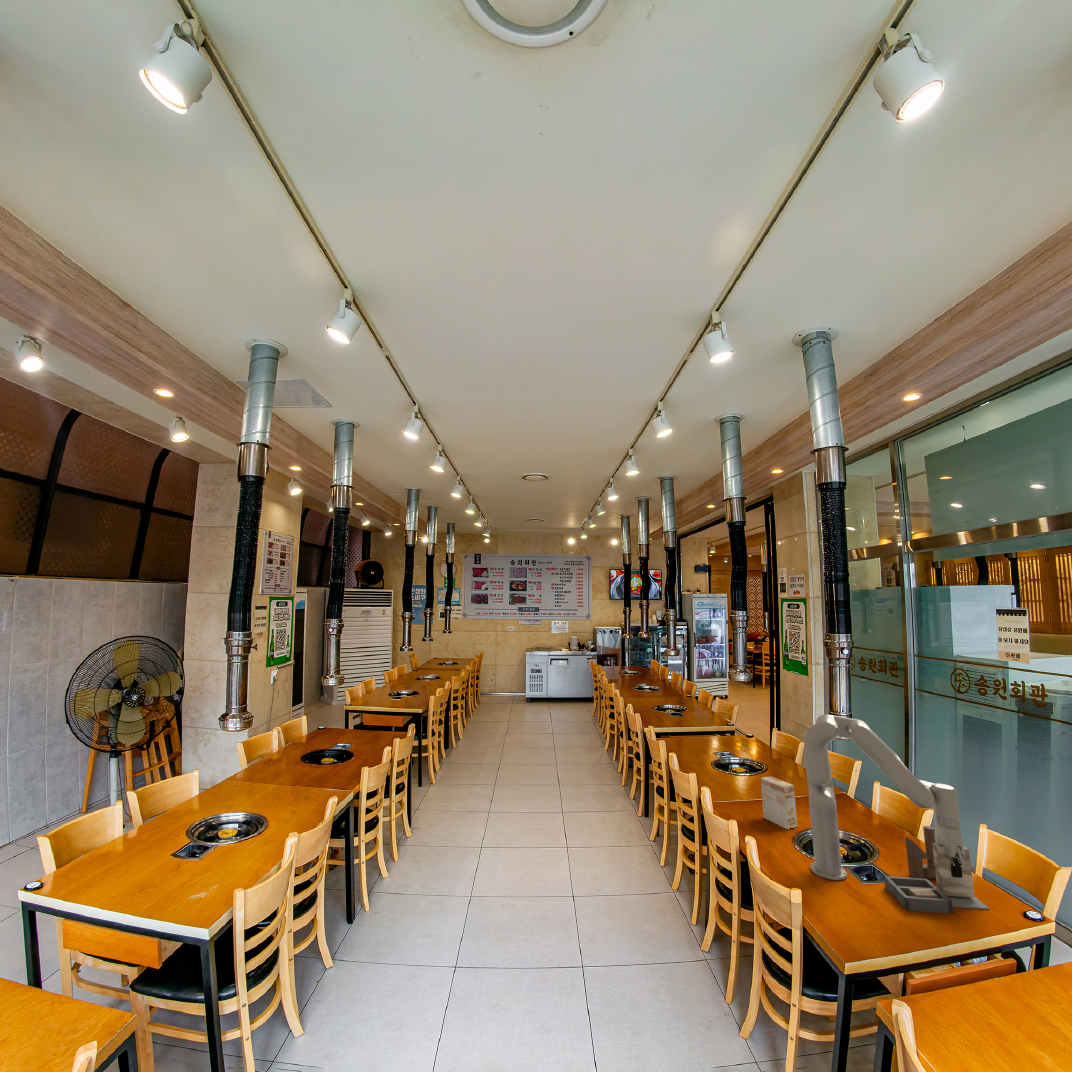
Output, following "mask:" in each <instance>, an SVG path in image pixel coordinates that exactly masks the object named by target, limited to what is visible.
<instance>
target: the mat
mask: <svg viewBox="0 0 1072 1072" xmlns="http://www.w3.org/2000/svg"><path fill="white" fill-rule="evenodd" d="M946 896H947V895H946ZM947 897H948V898H949V899H950V900H951V901H952V907H953V908H962V909H975V910H986V911H987V910H990V908H989V907H988V906H987V905H986V904H985V903H983V902H982V901H981V900H980V899H978V897H976V896H975V898H974V897H961V896H947Z"/></svg>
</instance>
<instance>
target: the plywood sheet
mask: <svg viewBox="0 0 1072 1072" xmlns="http://www.w3.org/2000/svg"><path fill="white" fill-rule="evenodd" d="M932 844H933V853H934V862H935V871H936V878H935V879H936V887H937V888H938V889H939V890H940V891H941V892H942V893H943V894H944V895H947V896H961V897H974V898H975V897H976V896H975V890H974V889H975V888H974V879H973V873H972V866H971V857H970V849H969V848H967V847H966V846H964V851H965V857H964V861H965V863H964V864H962V876H963V877H962V878H957V877H953V876H952V873H951V865H952V863H951V857H949V856H947V855H946V854H945V848H944V847H942V846H941V845H940V844H934V843H932ZM955 856H957V855H955ZM955 860H958V859H956V858H954V861H955Z"/></svg>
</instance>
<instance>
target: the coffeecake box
mask: <svg viewBox="0 0 1072 1072" xmlns="http://www.w3.org/2000/svg"><path fill="white" fill-rule="evenodd" d="M760 784H761V785H760V787H761V797H762V798H761V800H762V813H763V814H762V815H763V819H764V818H765V819H764V820H766V819H767V820H766V821H768V820H769V822H770V821H771V823H772V822H773V823H772V824H774V823H775V824H774V825H776V824H777V825H776V826H778V825H779V827H780V826H781V828H782V827H783V828H782V829H784V828H785V830H786V829H788V830H791V829H790V828H794V829H796V828H795V827H798V822H797V821H798V819H797V808H796V807H797V806H796V796H795V794H796V793H795V785H794V784H791V783H789V782H786V781H784V780H782V779H779V778H777V777H774V776H764V777H760Z"/></svg>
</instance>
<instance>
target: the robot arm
mask: <svg viewBox="0 0 1072 1072" xmlns="http://www.w3.org/2000/svg"><path fill="white" fill-rule="evenodd" d="M838 738H843V739H844V738H845V739H850V740H851V741H852V743H853V744H854V745H855V746H856V747H858V749H859V750H860V751H861V752H862V753H863V754H865V755H866V757H867V758H868V759H870V761H871V762H872V763H873V764H874V765H875V766H876V767H877V768H878V769H879V770H880V771H881V772H882V773H883V774H884V775H885V776H886V777H887V778H888V779H889V780H890V781H891V782H892V783H893V784H894V785H895V787H896V788H898V790H899V791H900V792H901V793H902V794H903V795H905V796H906V797H907V799H909V801H910V802H912V803H913V804H914V805H915V806H917V807H918V808H921V809H930V808H933V809H932V810H933V817H934V818H933V819H934V826H933V828H934V834H935V844H940V845H941V846H942V847H944V848H945V854H946V855H947V856H949V857H951V863H952V865H951V873H952V876H953V877H957V878H962V877H963V876H962V864H964V863H965V861H964V857H965V851H964V847H965V844H964V840H963V835H962V831H961V828H962V826H961V824H962V823H961V818H960V809H959V802H958V800H959V799H958V792H957V790H956V788H955V787H953V786H952V785H949V784H946V783H941V782H940V783H938V782H937V783H935V782H931V781H930V782H928V781H926V780H922V779H918V778H917V777H916V776H915V775H914V773H912V772H911V771H910V770H909V769H908V767H907V766H906V765H905V764H904V762H903V760H901V758H900V757H899V755H898V754H897V753H895V751H893V750H892V748H890V747H889V746H888V745H887V744H886V743H885V742H884V741H883V740H882V739H881V737H879V736H878V735H877V734H876V733H875V732H874V731H873V730H872V729H871V728H870V726H869V724H867V722H865V721H863V720H861V719H857V718H849V717H844V716H837V715H832V714H821V715H819V716H818V717H817V718H816V719H815V724H813V725H811V726H810V727H809V729H808V730H807V731H806V732H805V735H804V739H803V741H804V742H803V746H804V757H805V773H806V777H807V786H808V805H809V806H808V807H809V815H810V825H811V838H812V846H813V849H812V850H813V859H814V862H812V863H811V864H810V870H811V872H813V873H814V874H815V875H816V876H818V877H821V878H823V879H827V880H831V881H843V880H845V879H847V877H848V873H847V870H845V869H844V867H842V857H841V846H840V845H841V844H840V834H839V825H838V823H839V822H838V809H837V800H836V796H835V788H834V782H833V781H834V780H833V775H832V774H833V772H832V766H831V764H830V760H829V749H828V746H829V744H830V742H832V741H834V740H836V739H838ZM955 855H957V856H955ZM954 858H956V859H958V860H955V861H954Z"/></svg>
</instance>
